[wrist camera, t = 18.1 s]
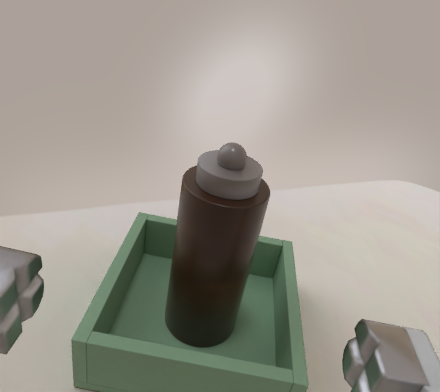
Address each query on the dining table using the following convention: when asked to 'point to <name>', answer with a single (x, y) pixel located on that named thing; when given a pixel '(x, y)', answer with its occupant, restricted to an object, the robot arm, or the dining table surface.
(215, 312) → the pepper mill
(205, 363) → the tray
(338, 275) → the dining table surface
